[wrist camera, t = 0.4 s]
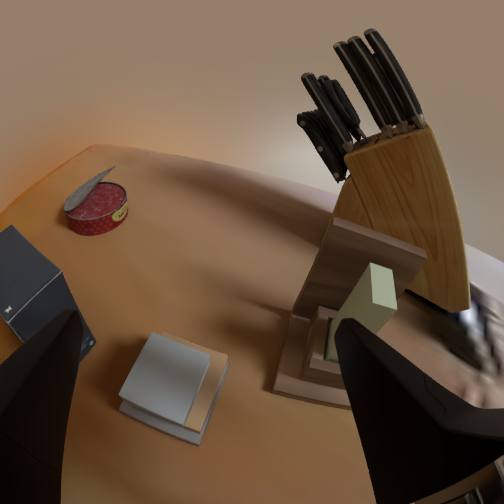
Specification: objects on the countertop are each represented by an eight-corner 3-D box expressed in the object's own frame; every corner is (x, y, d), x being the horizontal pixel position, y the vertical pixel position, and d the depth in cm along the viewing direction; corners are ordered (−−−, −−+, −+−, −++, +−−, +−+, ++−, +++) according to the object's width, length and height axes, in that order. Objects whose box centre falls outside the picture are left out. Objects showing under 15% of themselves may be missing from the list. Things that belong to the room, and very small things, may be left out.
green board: (334, 374, 24) (397, 309, 16) (315, 370, 24) (372, 302, 17) (338, 341, 27) (392, 269, 19) (320, 336, 27) (370, 262, 20)
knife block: (290, 192, 49) (334, 26, 28) (454, 278, 40) (536, 134, 19) (261, 219, 41) (311, 8, 21) (457, 322, 32) (570, 153, 11)
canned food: (98, 261, 36) (56, 231, 27) (76, 222, 39) (41, 191, 30) (152, 209, 38) (122, 167, 29) (124, 177, 42) (96, 138, 33)
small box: (101, 340, 23) (65, 268, 16) (63, 386, 18) (5, 328, 11) (44, 290, 25) (12, 219, 18) (10, 325, 21) (-35, 259, 13)
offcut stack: (199, 446, 18) (198, 440, 15) (123, 413, 19) (107, 398, 15) (227, 369, 24) (233, 347, 21) (158, 343, 24) (152, 316, 21)
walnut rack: (358, 410, 22) (448, 348, 13) (271, 392, 23) (326, 316, 14) (363, 330, 29) (424, 249, 21) (291, 310, 30) (333, 216, 21)
